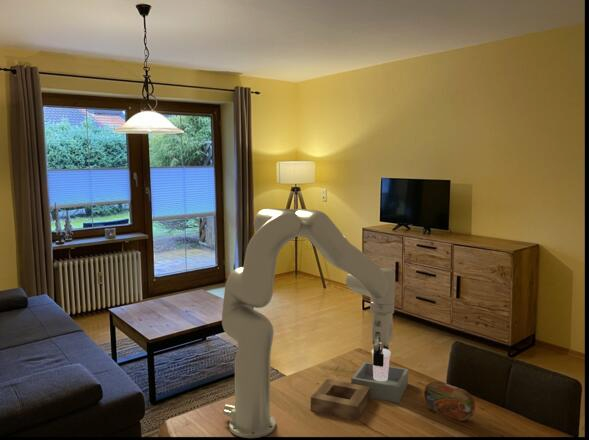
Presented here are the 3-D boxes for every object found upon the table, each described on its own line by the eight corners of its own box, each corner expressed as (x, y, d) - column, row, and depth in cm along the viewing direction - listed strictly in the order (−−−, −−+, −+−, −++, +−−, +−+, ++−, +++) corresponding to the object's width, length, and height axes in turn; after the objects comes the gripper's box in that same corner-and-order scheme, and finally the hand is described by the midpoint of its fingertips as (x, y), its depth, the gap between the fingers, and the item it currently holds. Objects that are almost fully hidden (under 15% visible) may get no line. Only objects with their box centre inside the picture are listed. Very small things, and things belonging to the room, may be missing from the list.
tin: (423, 406, 142) (424, 378, 141) (429, 403, 144) (430, 376, 143) (470, 426, 130) (471, 396, 130) (476, 422, 133) (477, 393, 132)
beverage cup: (367, 378, 153) (368, 336, 151) (377, 372, 157) (377, 331, 156) (384, 384, 149) (385, 340, 147) (393, 377, 153) (394, 335, 152)
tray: (351, 393, 149) (351, 378, 149) (363, 375, 163) (364, 361, 163) (398, 402, 143) (399, 387, 143) (408, 383, 157) (408, 369, 157)
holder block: (310, 410, 138) (310, 397, 138) (326, 391, 151) (327, 378, 151) (357, 420, 133) (357, 406, 132) (370, 399, 145) (370, 387, 145)
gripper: (387, 315, 142) (386, 374, 143) (399, 302, 157) (398, 354, 159) (363, 312, 145) (362, 369, 146) (377, 299, 160) (375, 351, 162)
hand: (380, 361), depth 152 cm, fingers closed on beverage cup, 6 cm apart
